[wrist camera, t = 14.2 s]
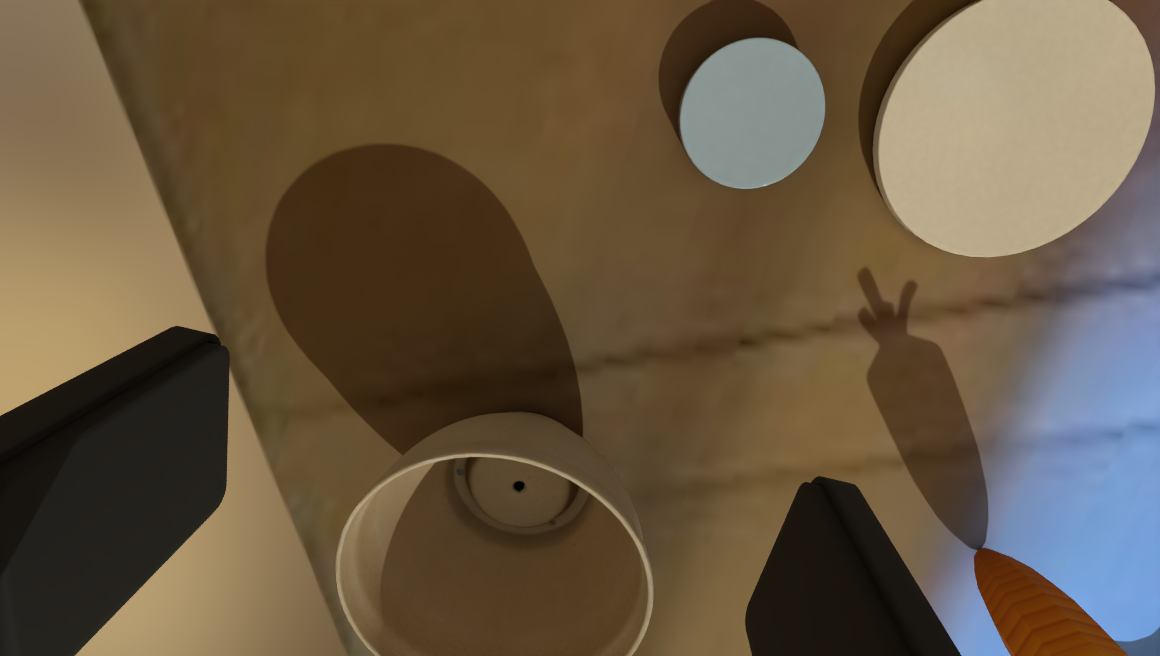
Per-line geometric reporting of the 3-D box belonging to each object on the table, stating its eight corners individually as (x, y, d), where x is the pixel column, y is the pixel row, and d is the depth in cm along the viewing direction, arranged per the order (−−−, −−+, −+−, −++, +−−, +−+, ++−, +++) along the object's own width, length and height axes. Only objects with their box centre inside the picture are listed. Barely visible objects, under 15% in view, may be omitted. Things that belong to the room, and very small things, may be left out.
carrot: (943, 522, 40) (1116, 748, 26) (1023, 517, 40) (1243, 744, 26) (938, 582, 42) (1098, 823, 28) (1015, 577, 42) (1217, 821, 28)
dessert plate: (933, -42, 29) (946, -48, 28) (1190, 24, 30) (1212, 22, 29) (832, 221, 34) (839, 225, 33) (1054, 276, 34) (1069, 282, 33)
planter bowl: (690, 430, 39) (716, 547, 29) (574, 599, 44) (561, 748, 34) (462, 315, 37) (403, 398, 27) (369, 507, 43) (292, 635, 32)
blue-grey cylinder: (700, 24, 31) (704, 20, 29) (837, 60, 31) (848, 58, 30) (660, 166, 33) (662, 170, 32) (787, 199, 34) (795, 203, 32)
